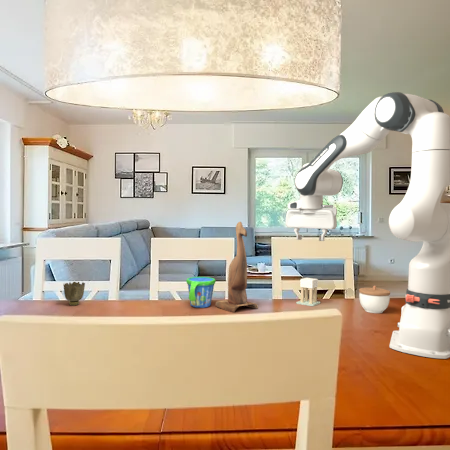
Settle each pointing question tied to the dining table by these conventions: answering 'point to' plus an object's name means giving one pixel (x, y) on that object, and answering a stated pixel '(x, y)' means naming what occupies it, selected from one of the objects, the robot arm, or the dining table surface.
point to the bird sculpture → (237, 276)
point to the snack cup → (200, 291)
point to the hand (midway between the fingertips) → (310, 240)
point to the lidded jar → (374, 299)
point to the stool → (312, 285)
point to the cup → (74, 292)
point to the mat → (308, 303)
